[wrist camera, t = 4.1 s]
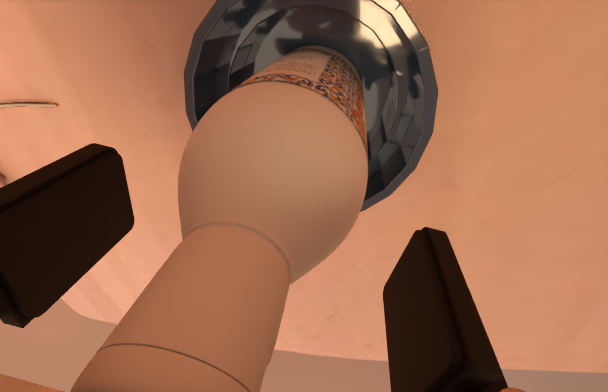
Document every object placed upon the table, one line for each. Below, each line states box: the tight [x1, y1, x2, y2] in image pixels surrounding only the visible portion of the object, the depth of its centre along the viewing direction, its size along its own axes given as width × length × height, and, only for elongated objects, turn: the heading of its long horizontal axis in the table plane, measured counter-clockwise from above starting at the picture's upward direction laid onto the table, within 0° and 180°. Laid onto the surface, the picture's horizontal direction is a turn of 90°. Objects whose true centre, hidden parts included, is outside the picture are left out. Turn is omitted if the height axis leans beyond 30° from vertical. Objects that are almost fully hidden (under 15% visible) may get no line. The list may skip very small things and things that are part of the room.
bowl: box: [184, 0, 438, 212], centre depth 19 cm, size 14×14×6 cm
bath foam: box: [71, 45, 369, 392], centre depth 13 cm, size 7×7×20 cm
